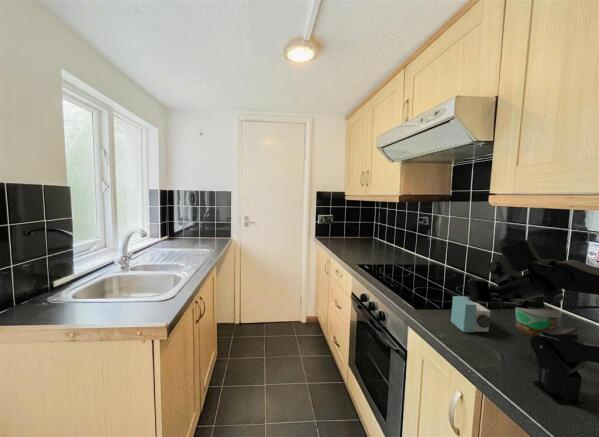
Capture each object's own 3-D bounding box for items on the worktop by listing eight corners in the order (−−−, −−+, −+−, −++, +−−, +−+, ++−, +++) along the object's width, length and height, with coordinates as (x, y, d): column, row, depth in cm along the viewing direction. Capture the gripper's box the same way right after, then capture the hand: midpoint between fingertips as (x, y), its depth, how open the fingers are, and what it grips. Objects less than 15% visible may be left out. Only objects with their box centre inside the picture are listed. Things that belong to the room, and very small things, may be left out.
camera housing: (490, 333, 88) (492, 310, 87) (474, 333, 88) (476, 310, 87) (465, 314, 101) (466, 295, 100) (451, 314, 101) (453, 294, 100)
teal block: (474, 332, 88) (476, 304, 87) (463, 332, 88) (465, 304, 87) (460, 321, 95) (462, 296, 94) (450, 321, 95) (452, 296, 94)
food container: (502, 326, 93) (505, 297, 92) (513, 323, 95) (516, 295, 94) (545, 345, 82) (548, 313, 81) (557, 341, 84) (561, 310, 83)
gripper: (551, 260, 72) (507, 277, 86) (482, 252, 72) (449, 270, 85) (567, 304, 66) (518, 314, 80) (492, 295, 66) (455, 307, 80)
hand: (484, 300), depth 82 cm, fingers open, 9 cm apart
